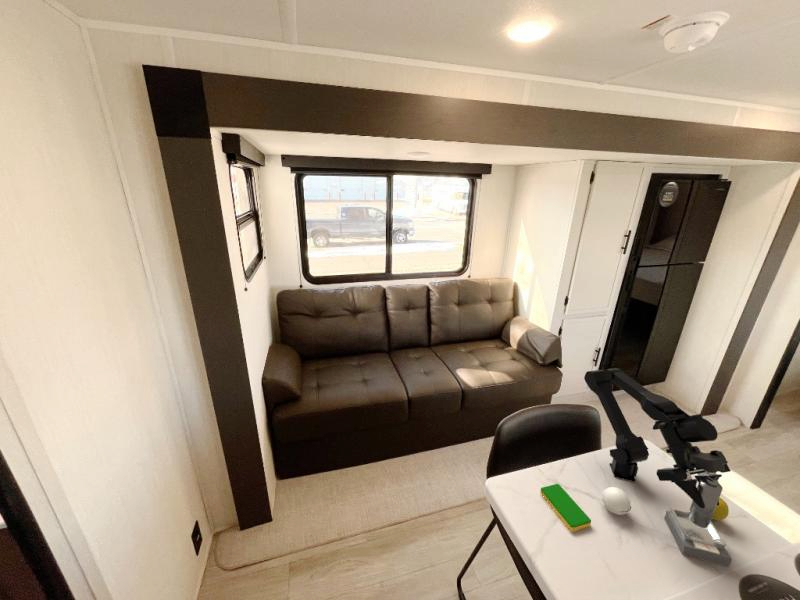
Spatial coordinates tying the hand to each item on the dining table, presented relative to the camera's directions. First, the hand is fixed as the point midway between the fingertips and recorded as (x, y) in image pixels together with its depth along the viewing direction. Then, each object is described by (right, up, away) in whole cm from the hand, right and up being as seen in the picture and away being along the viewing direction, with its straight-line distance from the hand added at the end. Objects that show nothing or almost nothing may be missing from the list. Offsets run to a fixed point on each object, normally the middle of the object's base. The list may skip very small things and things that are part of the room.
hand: (710, 506), depth 85 cm
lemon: (+11, -11, +11) cm, 19 cm away
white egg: (-16, -10, +14) cm, 23 cm away
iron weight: (0, -6, +3) cm, 7 cm away
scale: (-1, -12, +4) cm, 13 cm away
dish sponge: (-33, -10, +14) cm, 37 cm away
